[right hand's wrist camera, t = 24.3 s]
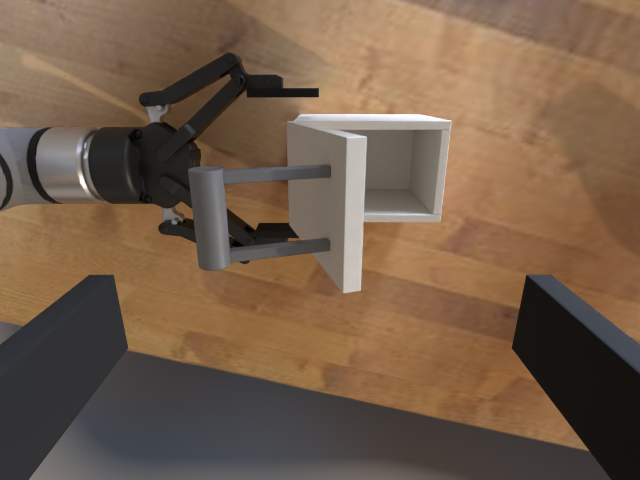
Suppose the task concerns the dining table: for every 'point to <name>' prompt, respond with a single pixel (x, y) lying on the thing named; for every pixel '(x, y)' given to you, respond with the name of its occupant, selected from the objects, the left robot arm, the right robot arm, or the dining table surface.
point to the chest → (398, 162)
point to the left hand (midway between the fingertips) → (319, 165)
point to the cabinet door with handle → (294, 204)
